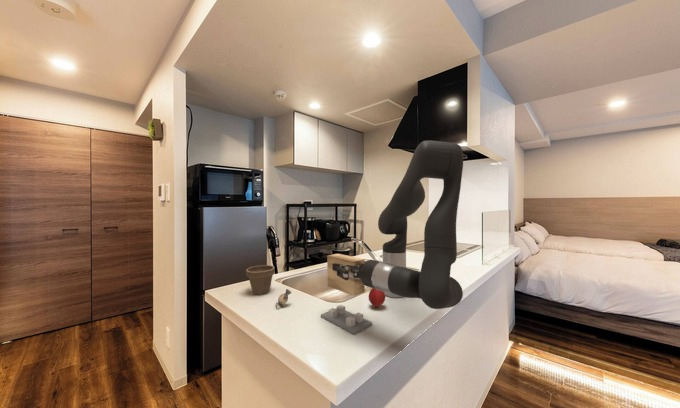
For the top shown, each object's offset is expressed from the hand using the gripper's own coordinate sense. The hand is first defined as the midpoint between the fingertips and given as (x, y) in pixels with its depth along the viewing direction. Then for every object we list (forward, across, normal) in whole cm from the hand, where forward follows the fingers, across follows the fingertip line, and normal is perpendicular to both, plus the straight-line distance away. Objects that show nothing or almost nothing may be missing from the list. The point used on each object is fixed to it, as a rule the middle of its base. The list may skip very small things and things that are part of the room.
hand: (339, 265), depth 80 cm
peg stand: (-2, 0, +17) cm, 17 cm away
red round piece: (-3, -15, +17) cm, 23 cm away
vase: (+21, +8, +17) cm, 28 cm away
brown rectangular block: (-3, 0, +7) cm, 8 cm away
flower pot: (+40, +8, +17) cm, 44 cm away
